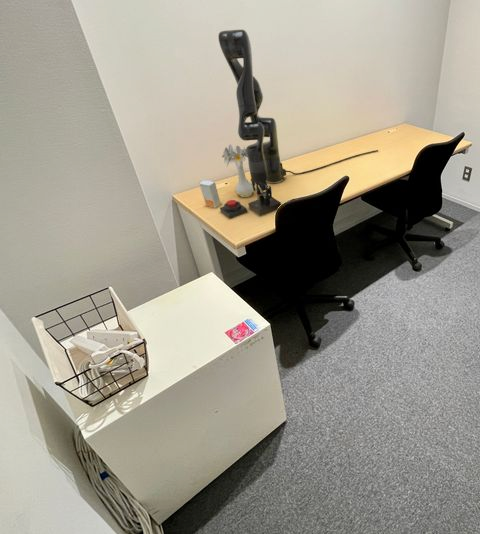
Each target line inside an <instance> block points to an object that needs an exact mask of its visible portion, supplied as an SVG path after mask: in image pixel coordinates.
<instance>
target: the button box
mask: <svg viewBox="0 0 480 534" xmlns="http://www.w3.org/2000/svg"><path fill="white" fill-rule="evenodd" d="M236 202H237V206H235V207H228V206H227V202H226V203H224V205H223V206H221V207H219V211H220V213H222V214H223V215H224V216H225V217H227V218H228V219H230V220H232V219H234V218H236V217H238V216H241V215H244V214H247V213H248V209H247V207H245V206H244V205H242V204H241V202H240V201H238V200H236Z"/></svg>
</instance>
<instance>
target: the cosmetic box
mask: <svg viewBox="0 0 480 534" xmlns="http://www.w3.org/2000/svg"><path fill="white" fill-rule="evenodd" d="M198 184H199V187H200V191H201V194H202V197H203V201H204V204H205V206H207V207H211V208H215V209H217V208H218V207H219V206H221V204H222V203H221V199H220V196H219V193H218V189H217V185H216V182H215V181H212V180H206V179H204V180H202V181H201V182H199V183H198Z"/></svg>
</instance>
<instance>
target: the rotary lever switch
mask: <svg viewBox="0 0 480 534" xmlns="http://www.w3.org/2000/svg"><path fill="white" fill-rule="evenodd" d="M247 205H248V209H249V210H250V211H252V212H253V213H255V214H257V216H259V217H262V216H266V215H267V214H270V213H272V212H275V211H277V210H278V209H277V208H278V207H279V206H280V205H281V206H282V202H281V201H279V200H278V199H277V198H275V197H273V196H272V197H271V198H270V205H265V204H262V205H260V204H259V203H258V199H256V200H253V201H250V202H248V203H247Z"/></svg>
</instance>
